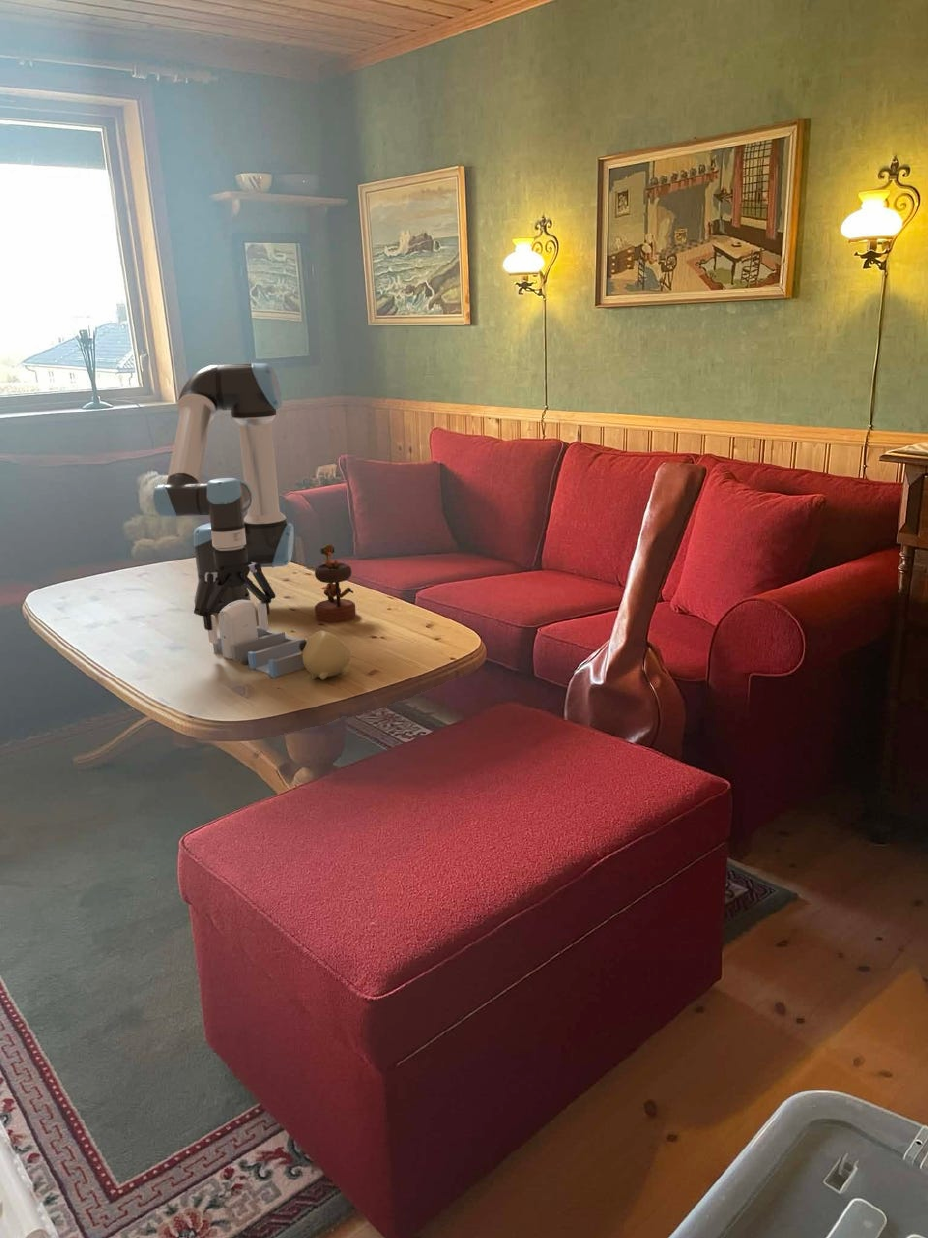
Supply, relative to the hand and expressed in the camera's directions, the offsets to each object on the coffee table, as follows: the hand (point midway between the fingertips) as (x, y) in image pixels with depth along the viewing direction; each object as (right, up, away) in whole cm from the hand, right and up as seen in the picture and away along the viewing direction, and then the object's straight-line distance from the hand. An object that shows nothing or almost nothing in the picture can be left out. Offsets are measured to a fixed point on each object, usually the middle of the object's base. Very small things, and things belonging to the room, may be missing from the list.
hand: (239, 636), depth 219 cm
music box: (+19, +4, +26) cm, 33 cm away
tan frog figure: (+23, -9, -17) cm, 30 cm away
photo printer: (0, -4, +1) cm, 4 cm away
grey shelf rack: (+8, -5, -3) cm, 10 cm away
